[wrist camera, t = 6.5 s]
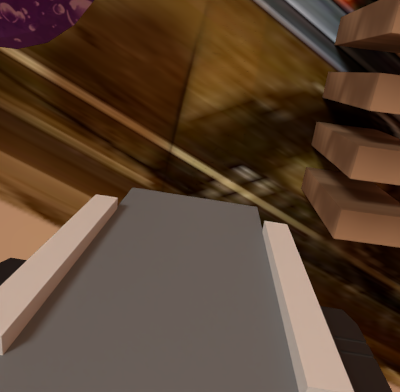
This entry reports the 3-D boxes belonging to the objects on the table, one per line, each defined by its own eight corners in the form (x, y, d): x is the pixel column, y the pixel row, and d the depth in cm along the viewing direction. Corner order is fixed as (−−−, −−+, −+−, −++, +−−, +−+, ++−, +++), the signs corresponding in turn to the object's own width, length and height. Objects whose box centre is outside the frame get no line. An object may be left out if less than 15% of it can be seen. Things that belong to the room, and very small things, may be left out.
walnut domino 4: (356, 195, 32) (412, 249, 22) (301, 188, 32) (333, 238, 22) (362, 174, 31) (423, 220, 22) (306, 167, 31) (341, 209, 22)
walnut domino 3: (369, 152, 30) (434, 190, 21) (311, 145, 30) (350, 178, 21) (376, 129, 30) (446, 157, 20) (316, 121, 30) (359, 146, 20)
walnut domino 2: (383, 105, 29) (459, 122, 19) (322, 97, 29) (369, 110, 20) (390, 79, 28) (473, 84, 19) (328, 71, 28) (380, 72, 19)
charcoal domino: (247, 251, 15) (288, 578, 5) (128, 232, 15) (-43, 521, 5) (257, 207, 14) (323, 492, 4) (132, 187, 14) (-59, 427, 5)
